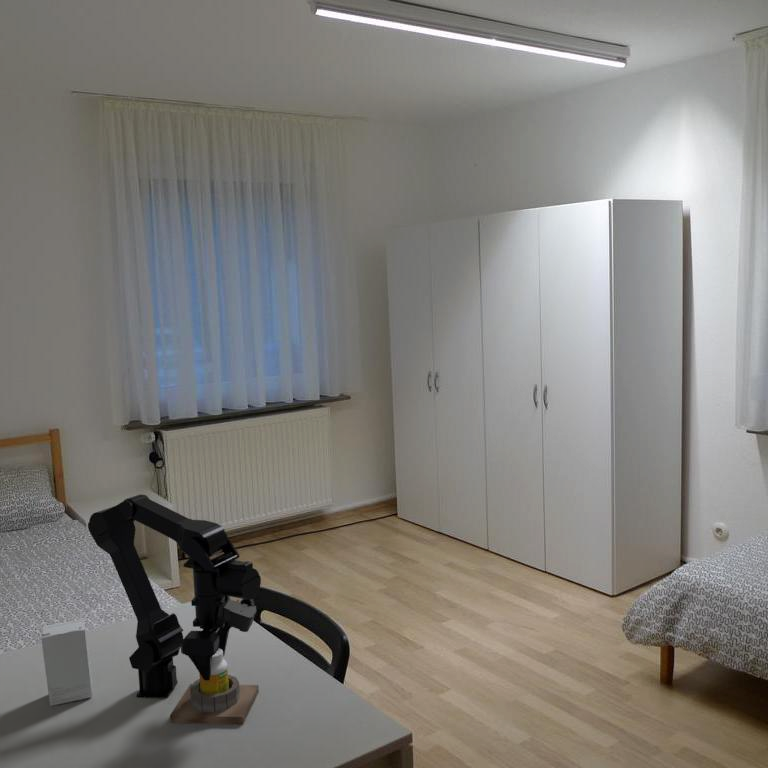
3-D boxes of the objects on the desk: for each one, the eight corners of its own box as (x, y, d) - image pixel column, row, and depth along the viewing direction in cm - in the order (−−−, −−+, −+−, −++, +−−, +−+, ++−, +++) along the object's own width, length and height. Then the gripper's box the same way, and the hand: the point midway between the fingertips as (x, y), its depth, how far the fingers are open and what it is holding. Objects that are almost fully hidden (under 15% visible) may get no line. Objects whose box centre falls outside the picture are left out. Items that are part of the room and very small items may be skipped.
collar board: (170, 722, 152) (168, 700, 152) (190, 690, 164) (189, 669, 164) (243, 724, 151) (241, 701, 151) (258, 692, 163) (257, 670, 162)
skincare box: (92, 685, 168) (86, 617, 166) (92, 699, 162) (86, 628, 160) (48, 693, 165) (42, 624, 163) (47, 707, 159) (41, 635, 157)
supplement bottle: (222, 707, 154) (220, 659, 153) (196, 705, 155) (193, 657, 154) (233, 693, 160) (230, 646, 158) (208, 691, 161) (205, 645, 159)
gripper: (237, 610, 145) (242, 693, 147) (262, 573, 163) (266, 647, 165) (177, 610, 146) (182, 692, 148) (208, 573, 164) (213, 646, 166)
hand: (214, 668), depth 157 cm, fingers open, 9 cm apart
